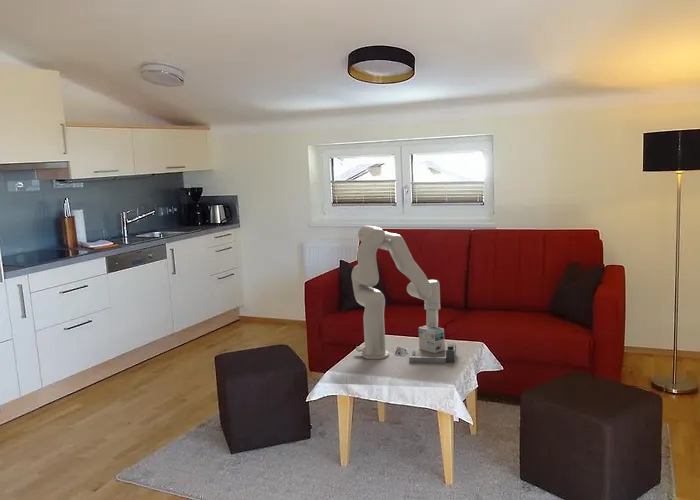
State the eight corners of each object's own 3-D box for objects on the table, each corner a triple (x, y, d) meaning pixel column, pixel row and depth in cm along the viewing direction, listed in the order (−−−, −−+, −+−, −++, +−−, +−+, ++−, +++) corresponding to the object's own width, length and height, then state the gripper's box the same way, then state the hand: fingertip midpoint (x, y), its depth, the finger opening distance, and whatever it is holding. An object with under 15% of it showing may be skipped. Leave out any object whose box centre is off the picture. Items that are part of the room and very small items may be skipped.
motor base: (409, 362, 276) (408, 348, 275) (413, 351, 291) (413, 338, 290) (454, 363, 271) (453, 349, 270) (456, 352, 286) (456, 338, 285)
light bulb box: (445, 350, 291) (444, 328, 289) (435, 353, 286) (434, 331, 285) (428, 346, 299) (427, 324, 297) (418, 349, 295) (417, 327, 293)
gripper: (426, 302, 306) (427, 338, 308) (422, 309, 291) (424, 347, 294) (441, 302, 304) (442, 338, 306) (438, 309, 290) (439, 347, 292)
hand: (433, 342), depth 300 cm, fingers closed
